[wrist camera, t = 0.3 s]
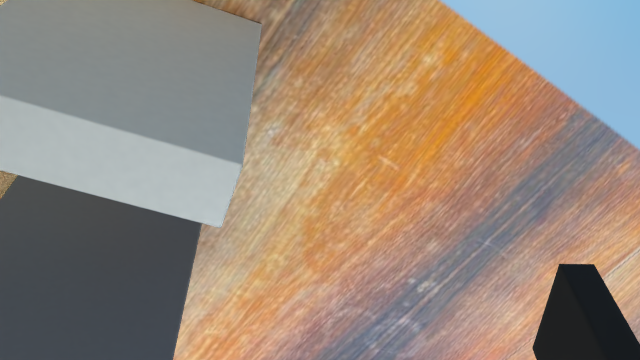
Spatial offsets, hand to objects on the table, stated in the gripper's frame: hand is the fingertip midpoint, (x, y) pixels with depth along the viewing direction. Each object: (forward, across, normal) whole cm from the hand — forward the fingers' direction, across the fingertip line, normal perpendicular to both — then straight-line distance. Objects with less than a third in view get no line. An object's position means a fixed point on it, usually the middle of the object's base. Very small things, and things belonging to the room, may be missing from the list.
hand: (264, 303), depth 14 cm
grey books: (+23, -12, -15) cm, 30 cm away
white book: (+24, -8, -1) cm, 25 cm away
